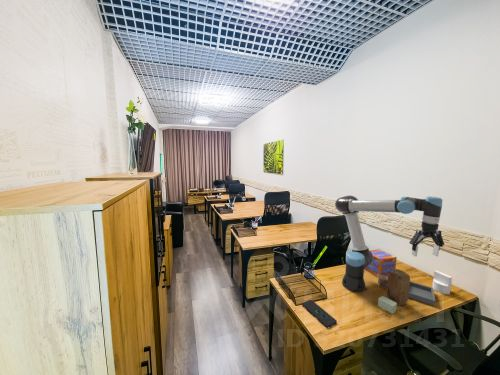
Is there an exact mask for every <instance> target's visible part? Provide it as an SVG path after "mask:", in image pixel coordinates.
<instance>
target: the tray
mask: <svg viewBox="0 0 500 375" xmlns="http://www.w3.org/2000/svg"><path fill="white" fill-rule="evenodd" d="M434 291H435V290H434V289H433V288H432V287H431V286H429V285H425V284H421V283H418V282H414V281H411V280H410V287H409V296H408V299H411V300H415V301H418V302H420V303H423V304H426V305H430V306H433V307H435V306H436V298H435V292H434Z"/></svg>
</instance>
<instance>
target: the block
mask: <svg viewBox="0 0 500 375" xmlns="http://www.w3.org/2000/svg"><path fill="white" fill-rule="evenodd" d="M410 277H411V276H410V275H409V273H407V272H405V271H403V270H401V269H399V268H396V269H394V270H391V271H390V273H389V275H388V287H387V288H386V297H387V298H388V299H390V300H392V301H394V302H396V303H397V306H398V305H399V306H405V305H406V304H407V302H408V300H409V298H408V296H409V287H410V281H411V278H410Z"/></svg>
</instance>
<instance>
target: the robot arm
mask: <svg viewBox="0 0 500 375" xmlns="http://www.w3.org/2000/svg"><path fill="white" fill-rule="evenodd" d="M334 206H335V209H336V210H337V211H338V212H340V213H341V214H342V215H343V216H345V220H346V223H347V227H348V231H349V235H350V240H351V243H352V244H351V245H352V247H351V251H350V252H348V253H346V257H345V273H344V275H343V277H342V279H341V284H342V286H343V287H344V288H346V289H347V290H349V291H351V292H355V293H362V292H364V291H366V288H367V287H366V282H365V279H364V275H365V274H364V273H365V268H366V267H367V266H368V265H370V264H371V263H372V261H373V254H372V253H371V251H370V248H369V246H367V245H366V242H365V238H364V234H363V231H362V230H363V229H362V227H361V221H360V219H359V213H360V212H368V213H370V212H371V213H372V212H373V213H401V214H405V215H407V214H411V213H413V212H414V211H416V212H417V211H418V212H423V214H422V218H421V220H422V221H421V229H416V230H415V233H414V235H413V237H412V238H411V240H410V241H409V244H410V245H411V251H412V252H411V255H413V257H418V250H419V245H420V244H421V243H422V242H423V240H425V239H427V238H431V240H432V241H433V243H435V244H433V250H432V255H433V256H435V257H439V251H440V249H441V248H442V247H443V246H444V245H445V242H444V239H443V236H442V230H440V229H439V223H440V218H441V213H442V209H443V199H442V198H441V197H437V196H429V195H428V196H425V199H424V198H416V197H411V196H410V197H409V196H402V197H400V199H395V200H394V199H382V200H379V199H377V200H372V199H370V200H368V199H367V200H363V199H361V200H359V199H358V198H357V197H356V196H354V195H345V196H342V197H338V198H337V199H336V201H335V204H334Z"/></svg>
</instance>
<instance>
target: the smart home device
mask: <svg viewBox="0 0 500 375" xmlns="http://www.w3.org/2000/svg"><path fill="white" fill-rule="evenodd" d="M301 306H302V307H303V308H304V307H305V308H306V309H307V310H306V309H305V308H304V309H305V310H306V311H307V312H309V314H310V315H312V314H313V315H312V317H314V318H315V317H316V318H317V319H318V320H319V321H318V320H317V319H316V318H315V319H316V320H317V321H318V322H319V323H321V325H323V326H324V327H325V328H326V327H327V328H326V329H328V327H329V328H331V327H332V325H333V326H334V325H337V323H338V321H337V319H335V318H334V317H333V316H332V315H331V314H330V313H328V312H327V311H326V310H325V309H324V308H323V307H321V306H320V305H319V304H318V303H316V302H315V301H314V300H312V299H309V300H307V301H304V302H302V303H301Z"/></svg>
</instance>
